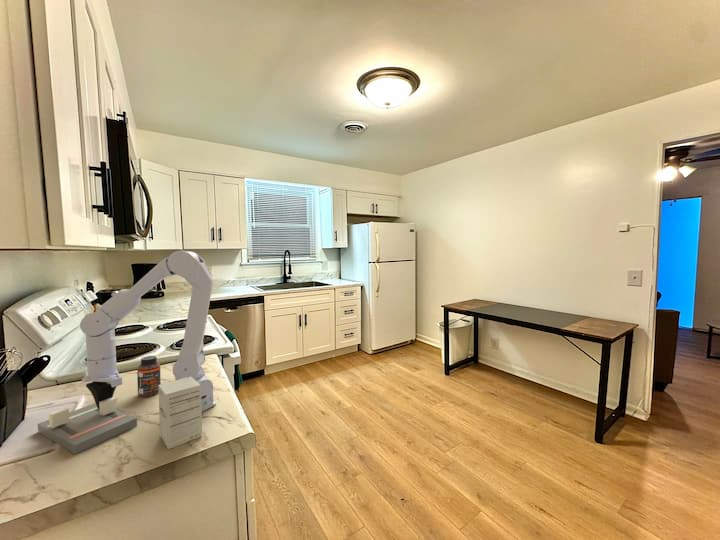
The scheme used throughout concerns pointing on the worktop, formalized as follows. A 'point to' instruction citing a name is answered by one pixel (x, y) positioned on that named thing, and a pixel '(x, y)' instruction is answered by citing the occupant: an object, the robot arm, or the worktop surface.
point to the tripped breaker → (108, 406)
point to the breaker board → (87, 428)
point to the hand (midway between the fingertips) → (104, 408)
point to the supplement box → (180, 411)
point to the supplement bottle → (148, 376)
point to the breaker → (59, 417)
